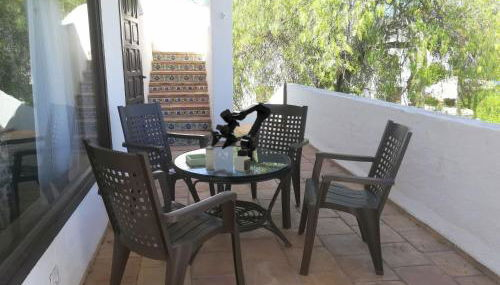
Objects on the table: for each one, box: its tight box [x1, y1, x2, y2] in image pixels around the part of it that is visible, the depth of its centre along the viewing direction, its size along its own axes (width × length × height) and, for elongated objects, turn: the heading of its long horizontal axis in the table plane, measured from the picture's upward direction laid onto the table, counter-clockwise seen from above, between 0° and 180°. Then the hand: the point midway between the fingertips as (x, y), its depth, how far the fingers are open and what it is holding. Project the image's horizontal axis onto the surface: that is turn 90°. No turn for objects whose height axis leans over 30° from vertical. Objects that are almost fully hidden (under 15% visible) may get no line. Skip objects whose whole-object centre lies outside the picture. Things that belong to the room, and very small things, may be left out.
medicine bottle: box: [233, 148, 252, 173], centre depth 231 cm, size 7×7×12 cm
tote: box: [185, 152, 206, 168], centre depth 245 cm, size 15×13×4 cm
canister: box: [204, 146, 215, 171], centre depth 232 cm, size 5×5×13 cm
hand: (216, 147), depth 235 cm, fingers open, 9 cm apart
